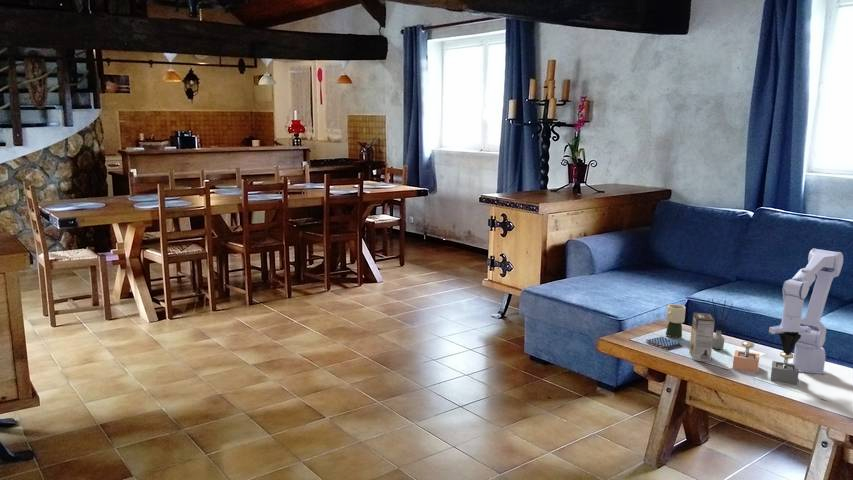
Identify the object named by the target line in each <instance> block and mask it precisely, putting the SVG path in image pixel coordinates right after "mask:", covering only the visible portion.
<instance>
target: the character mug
mask: <svg viewBox="0 0 853 480" xmlns="http://www.w3.org/2000/svg"><path fill="white" fill-rule="evenodd" d="M686 308H687V307H686V306H685V305H682V304H673V303H671V304H670V303H669V304H668V305H667V307H666V317H665V318H666V321H667V322H668V323H667V327H666V331H665V336H667V337H670V338H680V339H681V338H682V337H683V326H682V324H684V323H685V319H686Z"/></svg>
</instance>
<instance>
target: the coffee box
mask: <svg viewBox="0 0 853 480" xmlns="http://www.w3.org/2000/svg"><path fill="white" fill-rule="evenodd" d="M692 313H693V314H692V322H691V325H692V326H691V332H690V343H689V349H688V350H689V354H690V356H691V358H692V360H693V361H699V362H700V361H701V362H709V361H710V362H711V358H712V357H711V356H712V351H713V350H712V348H713V347H712V341H713V336H714V330H715V325H716V324H715V323H716V320H715V317H713V315H712V314H711V313H705V312H704V313H701V312H692Z"/></svg>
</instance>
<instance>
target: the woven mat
mask: <svg viewBox="0 0 853 480" xmlns="http://www.w3.org/2000/svg"><path fill="white" fill-rule="evenodd" d="M645 342H646V344H647V345H649V346H653V347H656V348H659V349H661V350H665V351H669V350H672V349H675V348H681V347H683V343H682V342H679V341H677V340H674V339H670V338H668V337H665V336H659V337H654V338H653V337H652V338H649V339H646V340H645Z"/></svg>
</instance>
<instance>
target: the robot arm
mask: <svg viewBox="0 0 853 480" xmlns="http://www.w3.org/2000/svg"><path fill="white" fill-rule="evenodd" d="M807 262H808V263H807V264H806V266H805V267H803V268H800V269H799V270H798V271H797V273H795V275H794V276H793V277H792V278H791V279H790V278H789V279H788V280H785V281H784V282H783V284H782V285H783V286H782V288H781V289H782V301H783V305H782V306H783V308H782V315H781V323H780V324H779V325H774V326H770V327H769V330H768V333H769V334H772V335H776V334H777V335H778V337H779V338H780V342H781V346H782V352H784V353H786V354H791V353H792V351H793V349H794V351H793V358H792V362H788V363H789V364H795V365H798V368H799V373H807V374H808V373H810V374H820V375H824V374H825V372H824V370H825V369H824V368H825V363H826V350H825V348H824V347H823V346H824V344H825V342H826V335H827V328H826V326H825V325H824V324H823V323H822V322H821V318H822V316H823V313H824V309H825V305H826V303H827V298H828V295H829V292H830V289H831V286H832V282H833V280H834V278H837V277H839V276H840V274H841V271H842V267H843V264H844V254H843V253H842V252H841V251H832V250H825V249H818V248H812V249H811V250H810V251H809V253H808V257H807ZM814 282H815V283H814ZM813 283H814V286H813V289H812V293H811V296H810V300H809V302H808V306H807V309H806V313H805V316H804V317H802V316H803V309H804V300H805V298H806V297H807V296H808V294H809V290H810V287H811V286H812V284H813Z"/></svg>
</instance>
